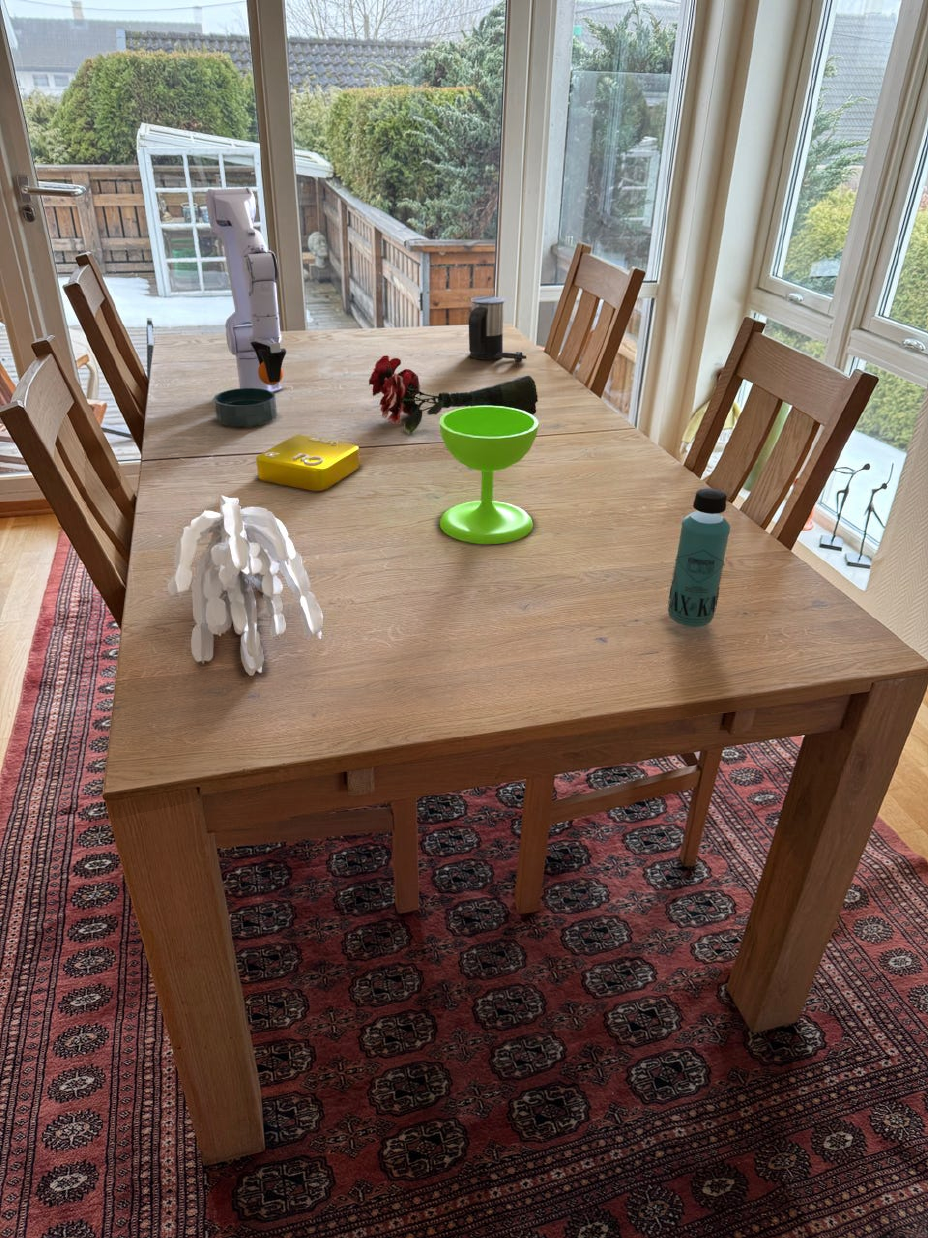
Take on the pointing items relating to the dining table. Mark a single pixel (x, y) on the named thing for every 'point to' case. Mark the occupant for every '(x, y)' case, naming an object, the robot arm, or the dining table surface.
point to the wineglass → (487, 470)
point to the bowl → (245, 407)
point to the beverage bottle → (699, 560)
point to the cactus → (241, 579)
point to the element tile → (308, 462)
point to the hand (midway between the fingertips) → (271, 378)
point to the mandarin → (264, 377)
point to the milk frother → (488, 329)
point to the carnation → (442, 394)
